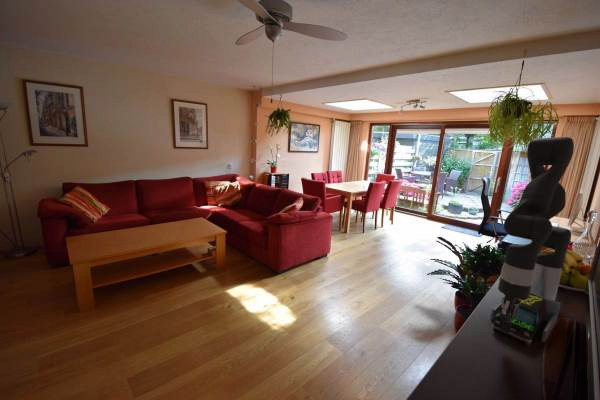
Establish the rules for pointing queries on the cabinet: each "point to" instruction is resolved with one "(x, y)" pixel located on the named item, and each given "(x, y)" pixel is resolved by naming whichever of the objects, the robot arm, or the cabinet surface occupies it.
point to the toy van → (525, 319)
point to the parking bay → (550, 316)
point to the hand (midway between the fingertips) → (504, 330)
